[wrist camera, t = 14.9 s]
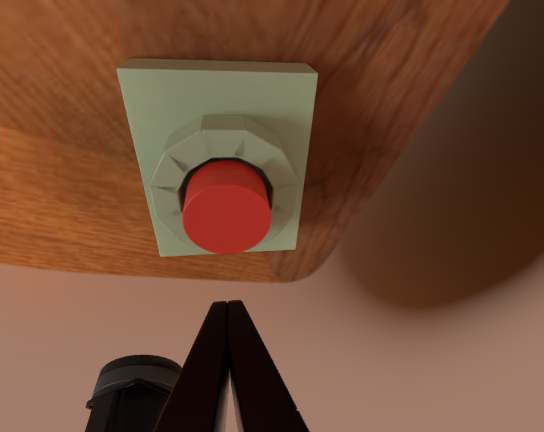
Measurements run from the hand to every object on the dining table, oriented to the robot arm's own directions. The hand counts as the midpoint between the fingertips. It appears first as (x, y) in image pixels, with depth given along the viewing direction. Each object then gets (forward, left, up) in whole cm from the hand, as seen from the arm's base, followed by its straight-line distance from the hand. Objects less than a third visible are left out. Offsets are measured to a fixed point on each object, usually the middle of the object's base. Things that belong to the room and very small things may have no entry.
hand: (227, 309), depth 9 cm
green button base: (0, 0, -10) cm, 10 cm away
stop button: (0, 0, -6) cm, 6 cm away
